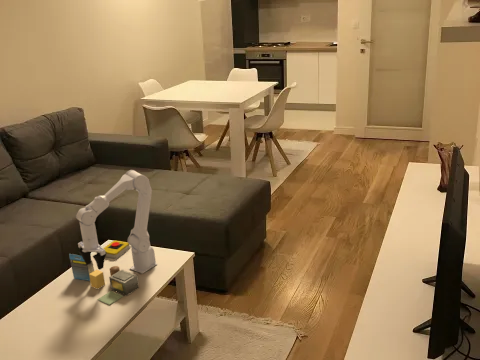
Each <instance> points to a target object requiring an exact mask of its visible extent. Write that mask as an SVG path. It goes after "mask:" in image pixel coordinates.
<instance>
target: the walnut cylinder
mask: <svg viewBox="0 0 480 360" xmlns="http://www.w3.org/2000/svg"><path fill="white" fill-rule="evenodd" d="M120 270H121V269H120V266H118V265H112V266H111V267H110V268H109V274H110V276H112V275H114V274H115V273H117V272H118V271H120Z"/></svg>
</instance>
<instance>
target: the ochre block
mask: <svg viewBox="0 0 480 360" xmlns="http://www.w3.org/2000/svg"><path fill="white" fill-rule="evenodd" d="M89 276H90V281H89V282H90V286H92V287H91V288H94V287H95V288H94V289H96V288H97V289H96V290H99V289H100V288H102V287H103V285H104V286H105V285H106V281H105V275H104V271H102V270H99V269H94V271H93V272H92V273H90V274H89ZM101 286H102V287H101ZM98 288H99V289H98Z"/></svg>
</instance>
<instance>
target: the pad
mask: <svg viewBox="0 0 480 360" xmlns="http://www.w3.org/2000/svg"><path fill="white" fill-rule="evenodd" d="M123 297H124V295H123V294H120V293H118V292H116V291H113V290H110V291H108V292H107V293H105V294H103V295H102V296H100V297H99V298H97V301H99V302H101V303H104V304H106V305H108V306H111V305H112V304H114V303H115V302H117V301H118V300H120V299H121V298H123Z"/></svg>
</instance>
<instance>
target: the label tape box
mask: <svg viewBox="0 0 480 360" xmlns="http://www.w3.org/2000/svg"><path fill="white" fill-rule="evenodd" d="M68 255H69V262H70V266H71V271H72V275H73V279H75V280H83V281H87V282H88V281H89V282H90V276H89V274H90V273H92V272H93V271H95V268H94V264H93V260H92V259H91V263H90V264H88V265H86V263H85V261H84V259H83V257H82V256H81V255H80V254H79V255H78V254H74V253H72V254H71V253H69V254H68Z"/></svg>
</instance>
